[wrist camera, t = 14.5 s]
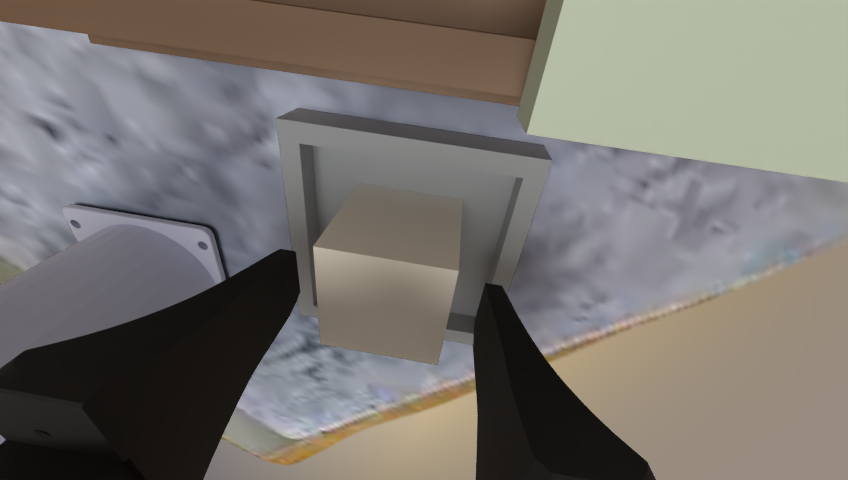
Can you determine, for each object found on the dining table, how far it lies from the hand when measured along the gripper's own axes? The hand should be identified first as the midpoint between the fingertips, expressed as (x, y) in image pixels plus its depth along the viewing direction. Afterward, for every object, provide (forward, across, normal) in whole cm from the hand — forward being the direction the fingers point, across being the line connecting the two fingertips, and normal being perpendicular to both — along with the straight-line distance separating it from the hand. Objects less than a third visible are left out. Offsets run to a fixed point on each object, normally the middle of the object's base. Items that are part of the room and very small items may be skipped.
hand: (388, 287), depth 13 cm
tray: (+4, 0, 0) cm, 4 cm away
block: (+3, 0, 0) cm, 4 cm away
